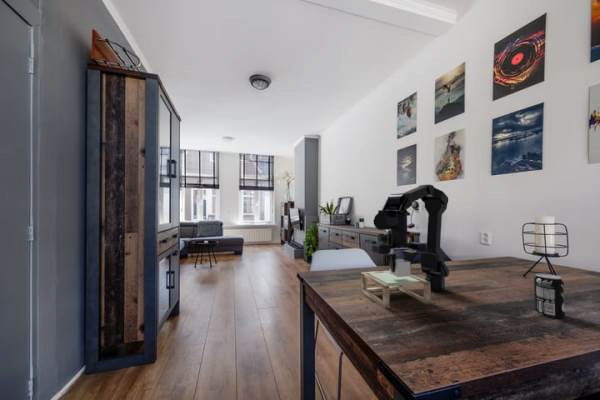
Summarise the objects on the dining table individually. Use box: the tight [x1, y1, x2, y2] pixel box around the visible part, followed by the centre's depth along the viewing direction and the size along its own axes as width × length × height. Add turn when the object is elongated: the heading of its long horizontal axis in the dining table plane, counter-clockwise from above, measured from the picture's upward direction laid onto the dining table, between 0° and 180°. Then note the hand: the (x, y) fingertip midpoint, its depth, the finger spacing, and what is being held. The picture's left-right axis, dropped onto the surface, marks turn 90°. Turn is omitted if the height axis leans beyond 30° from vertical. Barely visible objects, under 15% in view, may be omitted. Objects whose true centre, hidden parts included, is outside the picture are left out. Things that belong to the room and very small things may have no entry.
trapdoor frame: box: [360, 270, 432, 309], centre depth 91 cm, size 18×18×8 cm
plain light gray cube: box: [388, 258, 411, 277], centre depth 88 cm, size 5×5×5 cm
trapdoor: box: [369, 272, 421, 286], centre depth 92 cm, size 13×13×1 cm
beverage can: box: [533, 273, 566, 319], centre depth 77 cm, size 7×7×12 cm
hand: (399, 271), depth 88 cm, fingers closed on plain light gray cube, 5 cm apart
